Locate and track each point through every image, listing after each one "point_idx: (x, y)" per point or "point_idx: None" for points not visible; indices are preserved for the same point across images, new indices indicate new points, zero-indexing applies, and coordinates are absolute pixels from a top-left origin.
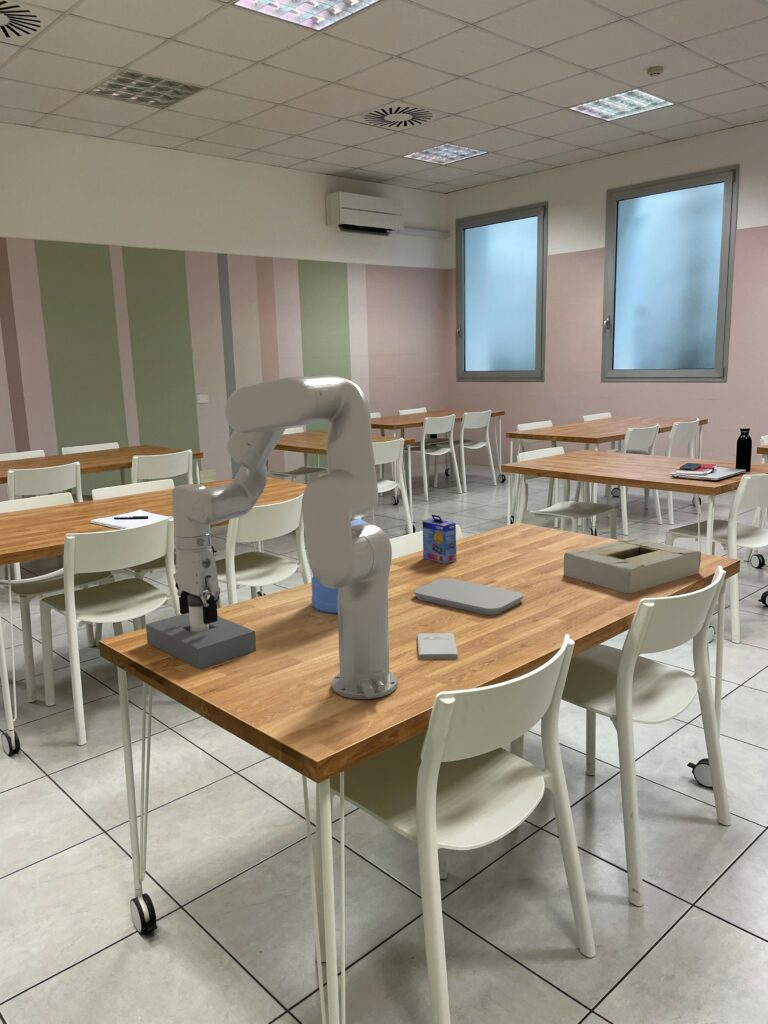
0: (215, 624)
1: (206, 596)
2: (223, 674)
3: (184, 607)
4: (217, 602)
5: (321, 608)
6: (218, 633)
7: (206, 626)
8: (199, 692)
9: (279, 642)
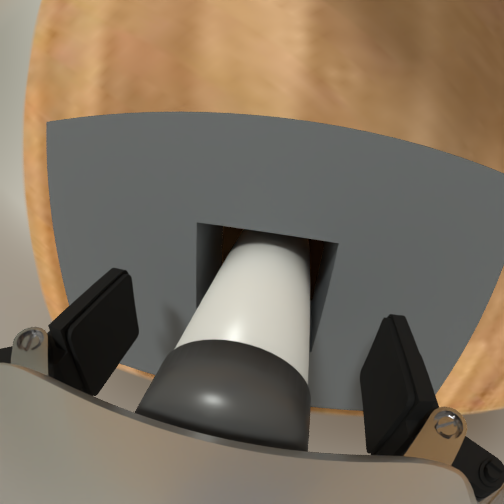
0: (296, 217)
1: (302, 439)
2: (478, 344)
3: (121, 343)
4: (462, 423)
5: None
6: (409, 298)
7: (309, 297)
8: (465, 408)
9: (486, 59)
